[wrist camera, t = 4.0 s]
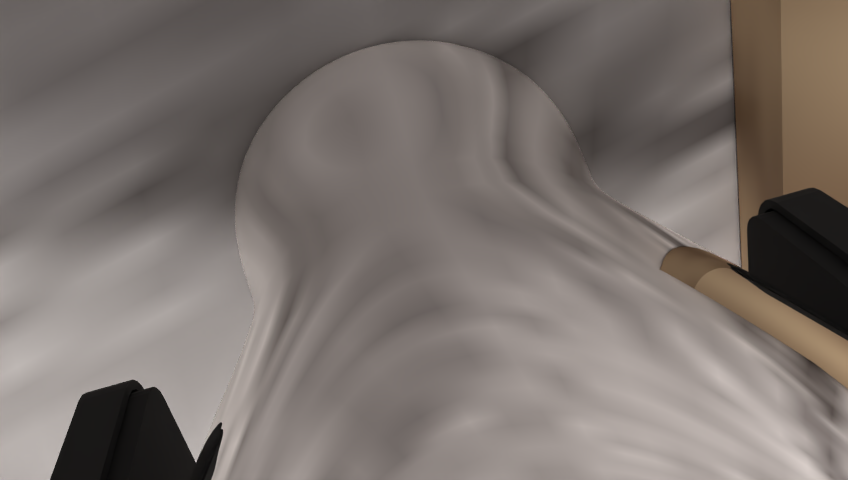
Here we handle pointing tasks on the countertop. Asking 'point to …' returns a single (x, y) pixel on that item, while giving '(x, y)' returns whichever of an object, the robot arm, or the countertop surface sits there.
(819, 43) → the oak board
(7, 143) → the countertop surface
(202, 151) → the countertop surface
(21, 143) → the countertop surface
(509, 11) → the countertop surface
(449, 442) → the beer glass
